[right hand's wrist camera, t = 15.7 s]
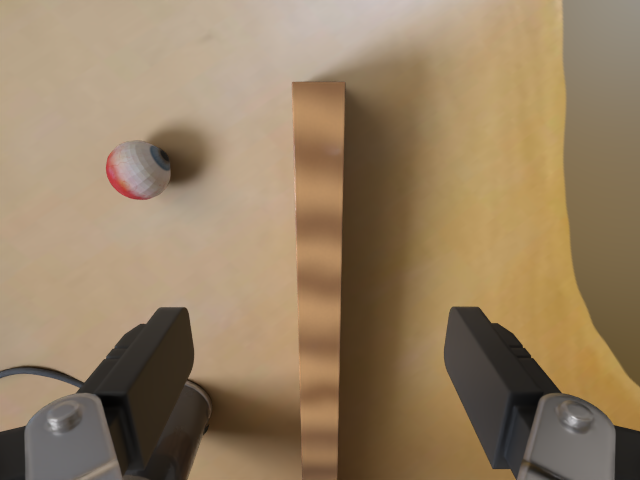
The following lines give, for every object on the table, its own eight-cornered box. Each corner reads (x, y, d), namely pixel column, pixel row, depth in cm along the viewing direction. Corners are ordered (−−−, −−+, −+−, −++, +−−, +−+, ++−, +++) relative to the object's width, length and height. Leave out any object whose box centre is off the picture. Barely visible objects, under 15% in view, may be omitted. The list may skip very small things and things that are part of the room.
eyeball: (191, 175, 42) (172, 187, 36) (146, 201, 43) (120, 216, 37) (159, 126, 40) (133, 130, 34) (112, 154, 41) (80, 163, 35)
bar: (297, 85, 39) (291, 81, 31) (340, 85, 39) (345, 81, 31) (307, 560, 66) (306, 621, 59) (332, 560, 66) (334, 621, 58)
